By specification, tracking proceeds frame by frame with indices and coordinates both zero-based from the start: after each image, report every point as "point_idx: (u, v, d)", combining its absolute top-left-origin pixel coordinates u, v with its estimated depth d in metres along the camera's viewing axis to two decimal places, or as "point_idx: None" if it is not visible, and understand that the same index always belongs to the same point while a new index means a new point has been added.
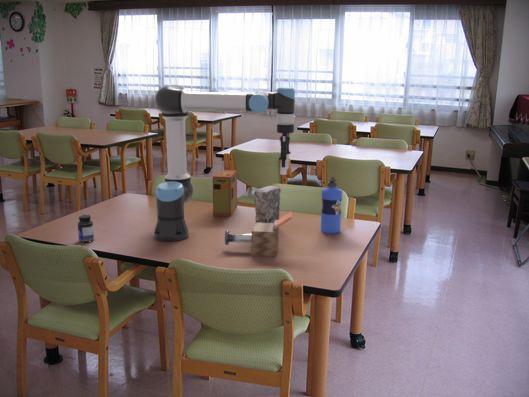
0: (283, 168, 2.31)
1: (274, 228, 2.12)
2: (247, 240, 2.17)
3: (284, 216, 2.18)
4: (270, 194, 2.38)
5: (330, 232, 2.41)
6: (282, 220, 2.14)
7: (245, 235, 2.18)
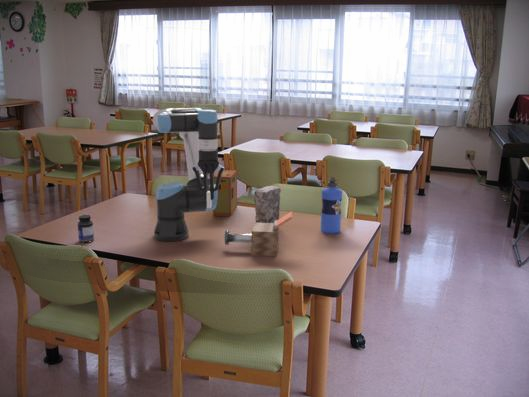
0: None
1: (274, 228, 2.12)
2: (247, 240, 2.17)
3: (284, 216, 2.18)
4: (270, 194, 2.38)
5: (330, 232, 2.41)
6: (282, 220, 2.14)
7: (245, 235, 2.18)
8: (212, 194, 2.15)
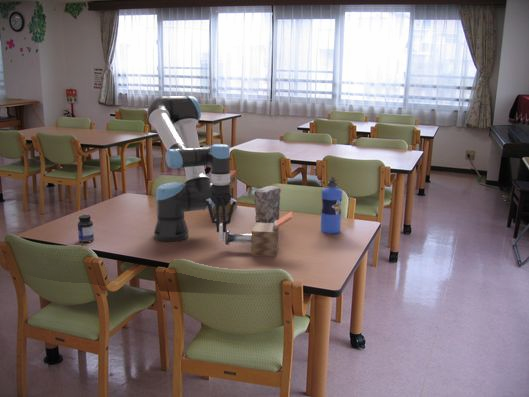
0: None
1: (274, 228, 2.12)
2: (247, 240, 2.17)
3: (284, 216, 2.18)
4: (270, 194, 2.38)
5: (330, 232, 2.41)
6: (282, 220, 2.14)
7: (245, 235, 2.18)
8: (224, 227, 2.18)
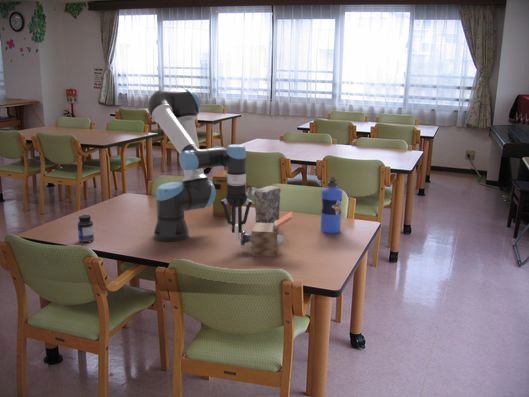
0: (235, 233, 2.19)
1: (274, 228, 2.12)
2: None
3: (284, 216, 2.18)
4: (270, 194, 2.38)
5: (330, 232, 2.41)
6: (282, 220, 2.14)
7: None
8: (240, 227, 2.17)
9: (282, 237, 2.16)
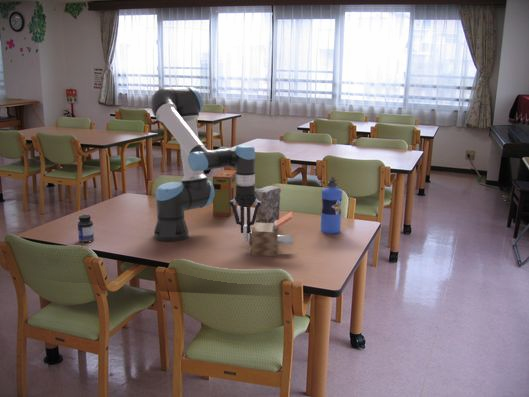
0: None
1: (274, 228, 2.12)
2: None
3: (284, 216, 2.18)
4: (270, 194, 2.38)
5: (330, 232, 2.41)
6: (282, 220, 2.14)
7: None
8: (248, 228, 2.17)
9: (291, 237, 2.16)
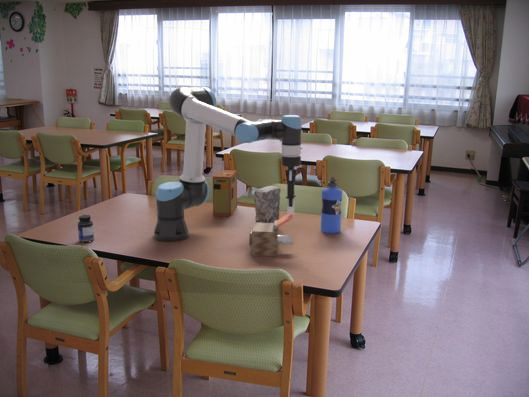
0: (290, 207, 2.13)
1: (274, 228, 2.12)
2: None
3: (284, 216, 2.18)
4: (270, 194, 2.38)
5: (330, 232, 2.41)
6: (282, 220, 2.14)
7: None
8: None
9: (291, 237, 2.16)
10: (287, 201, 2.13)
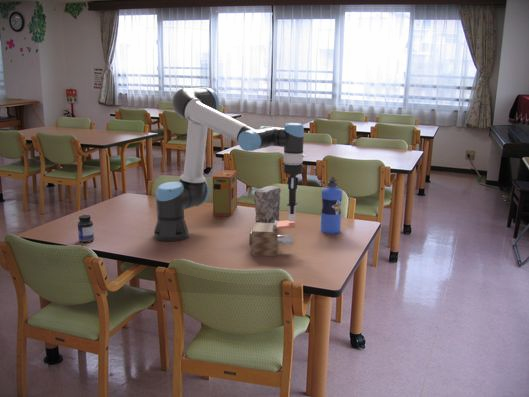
0: (292, 214, 2.14)
1: (274, 228, 2.12)
2: None
3: (286, 221, 2.18)
4: (270, 194, 2.38)
5: (330, 232, 2.41)
6: (284, 224, 2.14)
7: None
8: None
9: (291, 237, 2.16)
10: None
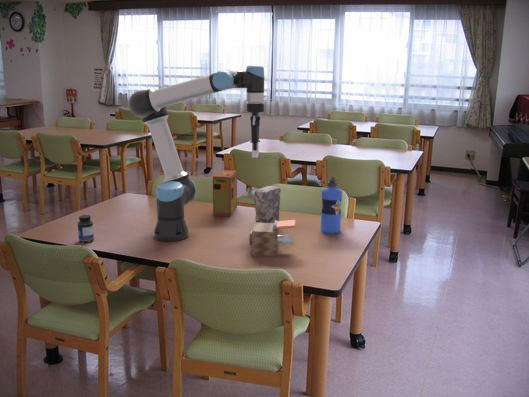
0: (255, 151, 2.33)
1: (274, 228, 2.12)
2: None
3: (286, 221, 2.18)
4: (270, 194, 2.38)
5: (330, 232, 2.41)
6: (284, 224, 2.14)
7: None
8: None
9: (291, 237, 2.16)
10: (252, 145, 2.33)
